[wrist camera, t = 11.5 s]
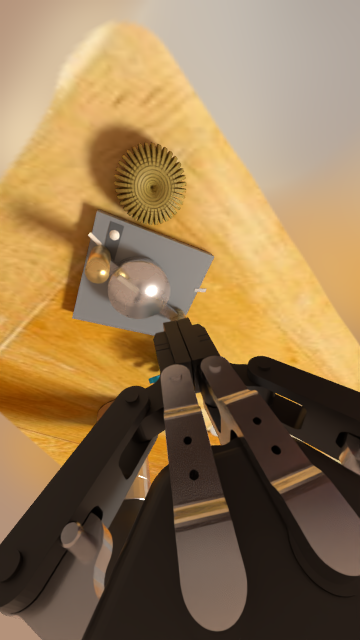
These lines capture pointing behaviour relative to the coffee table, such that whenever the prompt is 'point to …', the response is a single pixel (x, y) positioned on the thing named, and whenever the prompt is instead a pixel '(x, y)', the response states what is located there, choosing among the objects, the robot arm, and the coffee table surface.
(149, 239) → the board
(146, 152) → the sculpture
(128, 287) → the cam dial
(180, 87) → the coffee table surface
